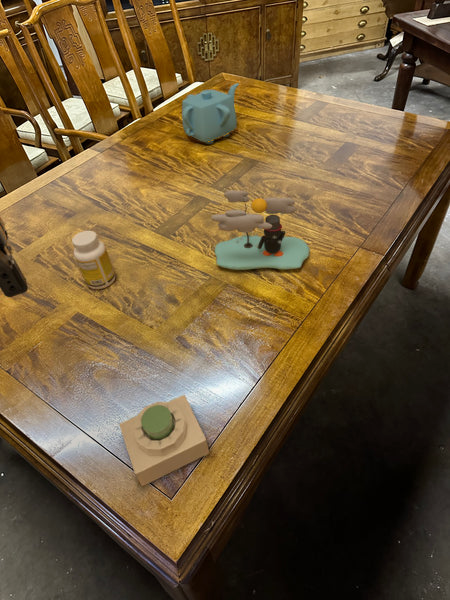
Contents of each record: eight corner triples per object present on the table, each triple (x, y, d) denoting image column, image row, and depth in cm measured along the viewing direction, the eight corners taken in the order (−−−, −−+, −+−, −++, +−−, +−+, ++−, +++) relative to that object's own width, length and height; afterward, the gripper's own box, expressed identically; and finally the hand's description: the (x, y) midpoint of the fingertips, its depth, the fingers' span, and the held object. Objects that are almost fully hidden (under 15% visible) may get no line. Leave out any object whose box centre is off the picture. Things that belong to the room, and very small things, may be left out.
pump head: (149, 445, 54) (146, 437, 53) (140, 420, 57) (137, 412, 56) (178, 431, 55) (175, 424, 54) (168, 408, 58) (165, 400, 57)
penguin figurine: (309, 243, 90) (314, 179, 79) (308, 276, 83) (313, 210, 72) (218, 241, 93) (211, 179, 83) (210, 272, 86) (200, 209, 75)
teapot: (231, 147, 126) (228, 101, 117) (179, 147, 129) (172, 102, 120) (241, 122, 138) (239, 79, 129) (193, 123, 142) (188, 80, 132)
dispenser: (142, 486, 56) (131, 467, 52) (126, 437, 62) (115, 416, 57) (209, 453, 59) (204, 432, 54) (188, 408, 64) (182, 386, 60)
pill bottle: (107, 266, 91) (91, 224, 83) (121, 279, 87) (106, 236, 79) (81, 280, 88) (62, 237, 80) (95, 294, 84) (76, 251, 77)
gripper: (-132, 103, 34) (-23, 266, 46) (-163, 169, 25) (-19, 349, 37) (-34, 82, 36) (45, 244, 48) (-31, 136, 27) (65, 318, 39)
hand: (17, 290), depth 42 cm, fingers closed
